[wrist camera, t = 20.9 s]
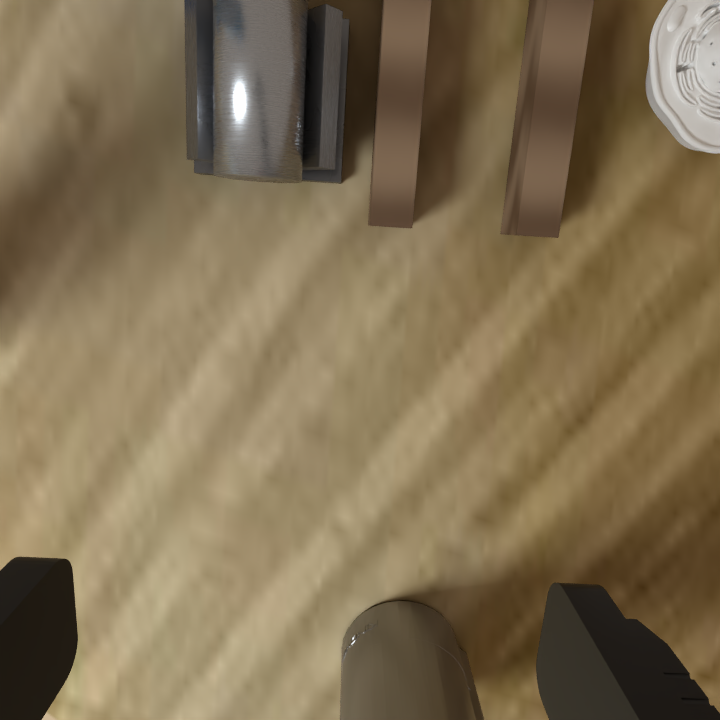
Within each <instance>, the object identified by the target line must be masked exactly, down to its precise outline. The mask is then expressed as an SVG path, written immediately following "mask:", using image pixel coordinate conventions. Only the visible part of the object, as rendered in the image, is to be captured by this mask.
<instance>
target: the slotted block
mask: <svg viewBox="0 0 720 720" xmlns="http://www.w3.org/2000/svg"><path fill="white" fill-rule="evenodd" d="M593 4H594V0H530V1H529V10H528V18H527V26H526V34H525V42H524V50H523V58H522V66H521V74H520V82H519V90H518V98H517V106H516V114H515V122H514V130H513V138H512V146H511V155H510V163H509V171H508V179H507V187H506V195H505V203H504V211H503V219H502V227H501V234H507V235H523V236H538V237H554V238H558V237H559V230H560V223H561V217H562V210H563V203H564V197H565V190H566V183H567V177H568V170H569V163H570V157H571V150H572V143H573V137H574V130H575V123H576V117H577V110H578V104H579V97H580V90H581V84H582V77H583V70H584V64H585V57H586V50H587V44H588V37H589V30H590V24H591V17H592V10H593ZM430 12H431V0H383V3H382V18H381V33H380V49H379V64H378V80H377V95H376V110H375V126H374V141H373V157H372V172H371V188H370V203H369V218H368V225H369V226H385V227H400V228H412V225H413V213H414V201H415V189H416V177H417V166H418V154H419V142H420V130H421V118H422V107H423V95H424V83H425V71H426V59H427V47H428V36H429V24H430Z"/></svg>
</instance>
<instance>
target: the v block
mask: <svg viewBox="0 0 720 720" xmlns="http://www.w3.org/2000/svg"><path fill="white" fill-rule="evenodd" d="M342 16H343V11H341V10H339V9H336V8H334V7H332V6H330V5H328V4H324V5H321V6H318V7H315V8H312V9H309V10H308V16H307V45H306V74H305V103H304V131H303V160H302V181H310V182H325V183H339V184H341V176H342V157H343V138H344V119H345V99H346V80H347V61H348V42H349V19H342ZM185 62H186V129H187V159H188V160H194V173H197V174H206V175H214V151H213V0H185Z"/></svg>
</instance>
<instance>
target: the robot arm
mask: <svg viewBox="0 0 720 720" xmlns="http://www.w3.org/2000/svg"><path fill="white" fill-rule="evenodd" d="M77 642H78V634H77V621H76V608H75V595H74V583H73V571H72V566H71V564H70V562H69V561H68V560H67V559H58V558H36V557H16V558H14V559H12V560H11V561H10V562H9V563H8V564H7V565H6V566H5V567H4V568H3V569H2V570H1V571H0V720H42V718H43V716H44V715H45V713H46V712H47V710H48V709H49V707H50V705H51V704H52V702H53V701H54V699H55V697H56V696H57V694H58V693H59V691H60V689H61V688H62V686H63V685H64V683H65V681H66V679H67V678H68V675H69V673H70V671H71V668H72V666H73V663H74V659H75V655H76V650H77ZM536 671H537V682H538V688H539V693H540V696H541V700H542V703H543V705H544V708H545V710H546V713H547V715H548V718H549V720H720V713H719V712H718V711H717V709H716V708H715V707H714V706H710V704H709V699H708V697H707V696H706V695H705V693H704V692H703V691H702V689H701V688H700V687H699V685H698V684H697V683H696V682H695V680H691V679H690V676H689V672H688V671H687V670H686V668H685V667H684V666H683V664H682V663H681V662H680V660H679V659H678V658H677V656H676V655H675V654H674V652H673V651H672V650H671V648H670V647H669V646H668V644H667V643H665V642H664V641H663V640H662V639H660V638H659V637H658V636H657V635H655V634H654V633H653V632H652V631H650V630H649V629H648V628H647V627H645V626H644V625H643V624H642V623H640V622H639V621H638V620H637V619H625V617H624V616H623V614H622V613H621V612H620V610H619V609H618V607H617V606H616V604H615V603H614V601H613V600H612V599H611V597H610V596H609V594H608V593H607V591H606V590H605V589H604V588H603V587H602V586H600V585H592V584H570V583H553V584H552V585H551V587H550V589H549V592H548V596H547V602H546V608H545V613H544V619H543V625H542V631H541V637H540V642H539V648H538V654H537V663H536ZM340 720H484V717H483V713H482V710H481V706H480V702H479V698H478V695H477V691H476V687H475V684H474V680H473V676H472V672H471V669H470V665H469V661H468V657H467V654H466V652H464V651H463V650H461V649H460V648H459V647H458V645H457V642H456V638H455V634H454V632H453V630H452V628H451V626H450V624H449V623H448V622H447V621H446V620H445V618H444V617H443V616H442V615H440V614H439V613H438V612H436V611H435V610H433V609H432V608H429V607H427V606H425V605H423V604H419V603H414V602H410V601H394V602H388V603H383V604H380V605H377V606H374V607H372V608H371V609H369V610H367V611H365V612H364V613H362V614H361V615H360V616H359V617H358V618H356V619H355V620H354V621H353V623H352V624H351V626H350V627H349V628H348V630H347V632H346V634H345V637H344V639H343V645H342V662H341V696H340Z"/></svg>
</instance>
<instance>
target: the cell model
mask: <svg viewBox="0 0 720 720" xmlns="http://www.w3.org/2000/svg"><path fill="white" fill-rule="evenodd" d="M649 53H650V56H649V64H648V69H647V75H646V94H647V98H648V101H649V104H650V106H651V108H652V110H653V111H654V113H655V114H656V115H657V117H658V118H659V119H660V120H661V122H662V123H663V124H664V125H665V126H666V127H667V128H668V130H669V131H670V132H671V134H672V135H673V136H674V138H675V139H676V140H677V141H678V142H679V143H680V144H682V145H683V146H685V147H686V148H689V149H692V150H696V151H704V152H708V153H720V0H668V1H667V3H666V4H665V6H664V7H663V9H662V10H661V12H660V14H659V16H658V18H657V20H656V22H655V24H654V26H653V29H652V33H651V37H650V46H649Z"/></svg>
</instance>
